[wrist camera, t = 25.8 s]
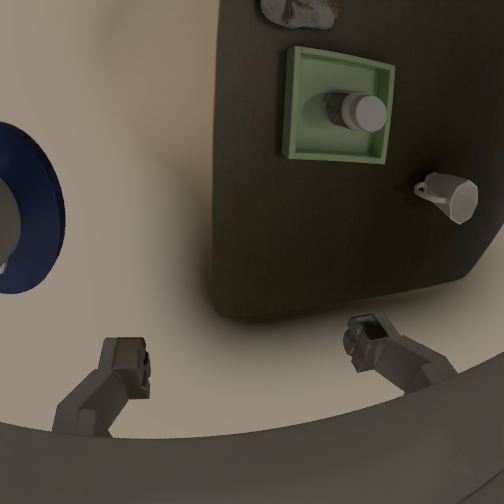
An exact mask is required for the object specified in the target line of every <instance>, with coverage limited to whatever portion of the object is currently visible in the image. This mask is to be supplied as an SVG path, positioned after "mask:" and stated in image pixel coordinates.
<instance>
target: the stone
mask: <svg viewBox="0 0 504 504" xmlns="http://www.w3.org/2000/svg"><path fill="white" fill-rule="evenodd" d="M260 6H261V10H262V13H263V14H264V15H265V16H266V17H267V18H268V19H269V20H271V21H272V22H274V23H276V24H279V25H282V26H284V27H286V28H293V29H296V28H299V27H311V28H320V29H327V28H330V27H332V25H333V23H334V19H335V18H337V17H338V16H339V15H338V6H337V4H336V2H335V0H260Z"/></svg>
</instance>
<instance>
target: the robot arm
mask: <svg viewBox="0 0 504 504" xmlns="http://www.w3.org/2000/svg"><path fill="white" fill-rule="evenodd" d="M20 235H21V217H20V212H19V208H18V205H17V202H16V199H15V197H14V195H13V193H12V191H11V190H10V188H9V187H8V185H7V184H6V183H5V182H4V181H3V180H2V179H1V178H0V274H2V273H3V272H4V271H5V270H6V267H7V263H8V258H9V256H10V255H11V254H12V253H13V251H14V250H15V249H16V247H17V245H18V242H19V239H20ZM347 325H348V327H349V329H348V330H347V331H346V332H345V335H344V338H343V342H344V348H345V351H346V352H347V354H348V355H350V356H352V361H351V362H352V363H353V365H354V367H355V369H356V371H357V373H359V372H363V371H368V370H373V369H375V371H377V372H378V373H380V374H381V375H383V376H384V377H385V378H386V379H388V380H389V381H390V382H392V383H393V384H395V385H396V386H398V387H399V388H400V389H401V390H403V391H404V392H405V394H404V395H403V396H401V397H398V398H396V399H392V400H389V401H386V402H383V403H380V404H377V405H373V406H370V407H367V408H363V409H360V410H356V411H353V412H349V413H345V414H342V415H337V416H334V417H329V418H325V419H321V420H317V421H312V422H307V423H302V424H297V425H292V426H287V427H281V428H275V429H269V430H263V431H256V432H248V433H240V434H231V435H221V436H210V437H195V438H173V439H127V438H113V437H112V436H111V434H110V433H109V431H108V429H109V427H110V426H111V425H112V423H113V421H114V420H115V419H116V417H117V416H118V415H119V413H120V412H121V410H122V409H123V408H124V406H125V405H126V403H127V402H128V399H149V396H150V384H149V381H148V378H149V377H150V372H151V368H150V359H149V354H148V352H147V351H145V349H146V343H145V340H144V338H142V337H137V338H134V337H131V338H130V337H129V338H128V337H123V338H121V337H118V338H105V340H104V343H103V348H102V352H101V356H100V361H99V366H98V369H94V370H93V371H92V372H91V373H90V374H89V375H88V376H87V377H86V378H85V379H84V380H83V381H82V382H81V383H80V384H79V385H78V386H77V387H76V388H75V389H74V390H73V391H72V392H71V393H70V394H69V395H68V396H66V398H64V400H62V401H61V402H60V403H59V404H58V406H57V410H56V414H55V418H54V423H53V428H52V432H50V431H43V430H37V429H31V428H26V427H20V426H16V425H11V424H6V423H2V422H0V504H504V352H502V353H500V354H498V355H496V356H495V357H493V358H491V359H489V360H487V361H485V362H483V363H481V364H479V365H477V366H475V367H473V368H471V369H468V370H466V371H464V372H462V373H459V374H458V373H457V372H456V370H455V369H454V368H453V366H452V365H451V364H450V362H449V361H448V360H447V358H446V357H445V356H443V355H441V354H439V353H437V352H435V351H434V350H432V349H430V348H428V347H426V346H424V345H422V344H419V343H418V342H416V341H414V340H412V339H410V338H408V337H406V336H404V335H403V336H400V334H399V333H398V331H397V330H396V329H395V327H394V326H393V325H392V323H391V322H390V321H389V319H388V318H387V317H386V315H385V314H384V313H382V312H379V313H373V314H368V315H362V316H357V317H351V318H350V319H349V321H348V324H347Z"/></svg>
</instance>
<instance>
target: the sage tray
mask: <svg viewBox="0 0 504 504" xmlns="http://www.w3.org/2000/svg"><path fill="white" fill-rule="evenodd" d="M394 75H395V66H393V65H389V64H385V63H382V62H378V61H374V60H370V59H366V58H361V57H357V56H352V55H348V54H343V53H338V52H332V51H327V50H321V49H314V48H308V47H301V46H293V47H291V48H288V49H287V65H286V85H285V104H284V121H283V138H282V154H283V155H284V156H285V157H287V158H288V159H309V160H331V161H348V162H362V163H374V164H385V159H386V152H387V145H388V137H389V129H390V120H391V111H392V101H393V89H394ZM333 90H350V91H363V92H366V93H368V94H369V95H372V96H376V97H378V98H379V99H380V100H381V101H382V102H383V103H384V105H385V107H386V110H387V118H386V122H385V124H384V125H383V127H382V128H381V129H379V130H377V131H374V132H369V131H363V132H358V131H354V130H351V129H347V128H344V127H340V126H337V125H334V124H331V123H330V122H328V121H327V120H326V119H325V117H324V116H323V114H322V110H321V104H322V100H323V98H324V96H325V95H326V94H327V93H329V92H331V91H333Z"/></svg>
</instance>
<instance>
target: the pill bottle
mask: <svg viewBox="0 0 504 504" xmlns="http://www.w3.org/2000/svg"><path fill="white" fill-rule="evenodd" d="M321 110H322V114H323V116H324V117H325V119H326V120H327V121H328V122H330V123H331V124H334V125H337V126H340V127H344V128H347V129H351V130H354V131H358V132H363V131H369V132H374V131H377V130H379V129H381V128H382V127H383V125H384V124H385V122H386V118H387V110H386V107H385V105H384V103H383V102H382V101H381V100H380V99H379V98H378V97H376V96H372V95H369V94H368V93H366V92H363V91H350V90H333V91H331V92H329V93H327V94H326V95H325V96H324V98H323V100H322V104H321Z"/></svg>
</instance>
